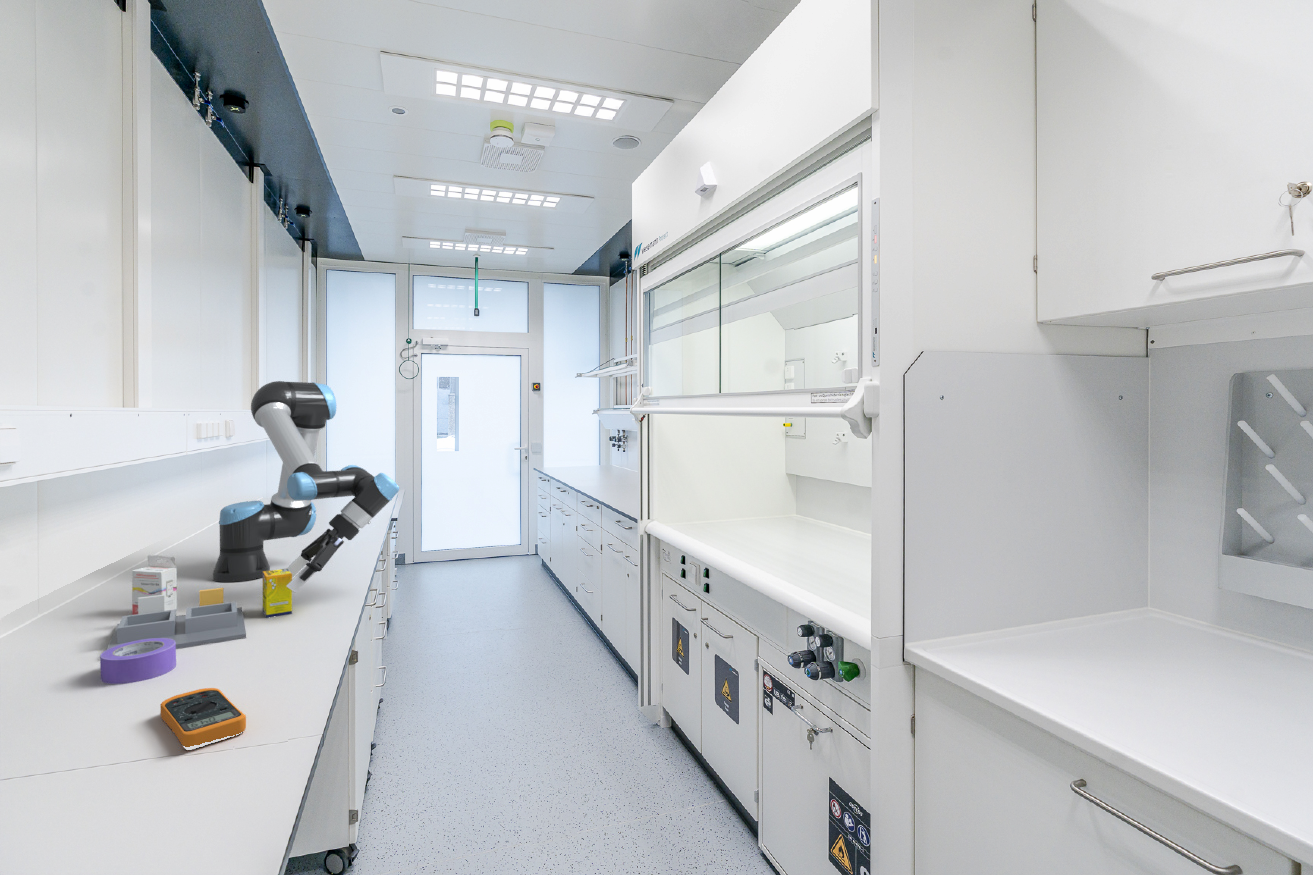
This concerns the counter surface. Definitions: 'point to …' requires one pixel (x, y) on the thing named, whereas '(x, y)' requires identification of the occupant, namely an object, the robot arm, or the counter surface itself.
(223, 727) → the multimeter
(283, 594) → the supplement box
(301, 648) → the counter surface
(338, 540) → the robot arm
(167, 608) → the ink cartridge box
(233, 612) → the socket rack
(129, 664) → the tape roll
